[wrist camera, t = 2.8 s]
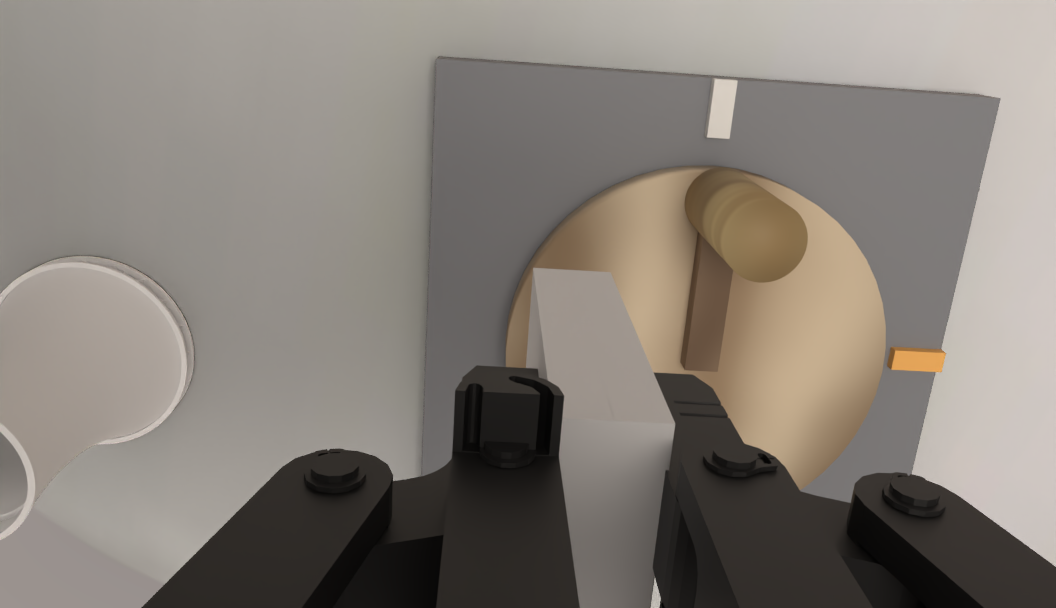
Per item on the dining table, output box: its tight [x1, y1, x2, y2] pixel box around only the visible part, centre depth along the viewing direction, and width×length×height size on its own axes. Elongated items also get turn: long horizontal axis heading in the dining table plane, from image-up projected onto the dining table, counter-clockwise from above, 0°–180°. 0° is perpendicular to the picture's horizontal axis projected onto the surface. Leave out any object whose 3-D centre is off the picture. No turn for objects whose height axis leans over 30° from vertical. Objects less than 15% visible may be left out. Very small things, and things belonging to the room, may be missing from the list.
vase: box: [0, 256, 194, 540], centre depth 30 cm, size 8×8×10 cm
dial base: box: [421, 56, 1000, 503], centre depth 34 cm, size 20×20×2 cm
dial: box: [506, 166, 886, 490], centre depth 30 cm, size 14×14×7 cm
